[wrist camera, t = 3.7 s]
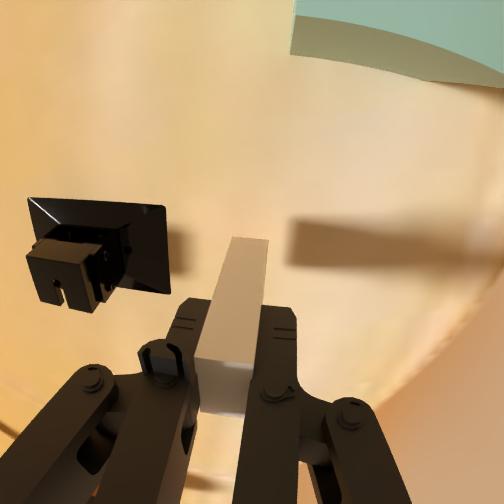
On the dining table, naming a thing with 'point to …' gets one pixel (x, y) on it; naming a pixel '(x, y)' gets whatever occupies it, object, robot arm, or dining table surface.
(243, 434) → the robot arm
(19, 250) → the dining table surface
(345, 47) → the teal block
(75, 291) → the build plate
